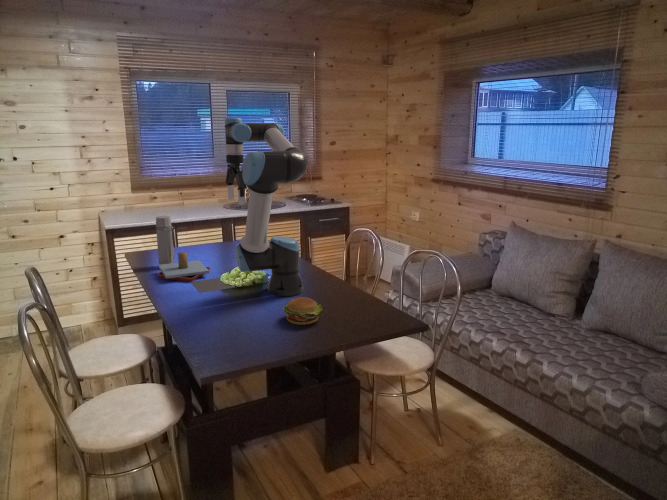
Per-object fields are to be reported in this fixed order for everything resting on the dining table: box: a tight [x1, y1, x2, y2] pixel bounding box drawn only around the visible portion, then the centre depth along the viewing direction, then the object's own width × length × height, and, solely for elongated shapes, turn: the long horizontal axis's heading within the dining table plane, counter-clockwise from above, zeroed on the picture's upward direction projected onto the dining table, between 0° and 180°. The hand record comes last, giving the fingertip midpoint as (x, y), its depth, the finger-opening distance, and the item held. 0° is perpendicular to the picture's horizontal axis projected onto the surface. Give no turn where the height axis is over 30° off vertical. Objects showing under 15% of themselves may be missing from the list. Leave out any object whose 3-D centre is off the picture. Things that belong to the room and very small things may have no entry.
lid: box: [158, 251, 210, 280], centre depth 233 cm, size 19×19×8 cm
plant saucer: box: [156, 266, 212, 283], centre depth 234 cm, size 18×18×3 cm
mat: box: [189, 277, 236, 294], centre depth 222 cm, size 16×16×1 cm
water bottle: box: [155, 215, 175, 265], centre depth 244 cm, size 9×8×25 cm
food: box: [282, 296, 324, 326], centre depth 185 cm, size 14×14×8 cm
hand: (236, 201), depth 228 cm, fingers open, 13 cm apart
